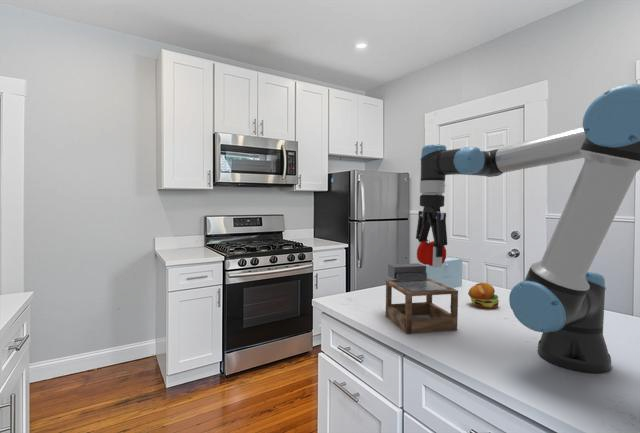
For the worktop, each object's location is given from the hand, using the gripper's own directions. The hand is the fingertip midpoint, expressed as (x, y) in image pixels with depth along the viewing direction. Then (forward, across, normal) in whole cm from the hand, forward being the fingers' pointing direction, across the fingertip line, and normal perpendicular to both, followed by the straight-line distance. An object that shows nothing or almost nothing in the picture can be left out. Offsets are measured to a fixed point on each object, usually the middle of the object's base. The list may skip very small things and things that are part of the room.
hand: (429, 264), depth 111 cm
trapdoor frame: (+20, +2, +2) cm, 20 cm away
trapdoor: (+9, +6, +2) cm, 11 cm away
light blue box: (+21, +44, -29) cm, 56 cm away
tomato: (+1, 0, 0) cm, 1 cm away
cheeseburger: (+20, +16, -31) cm, 41 cm away
